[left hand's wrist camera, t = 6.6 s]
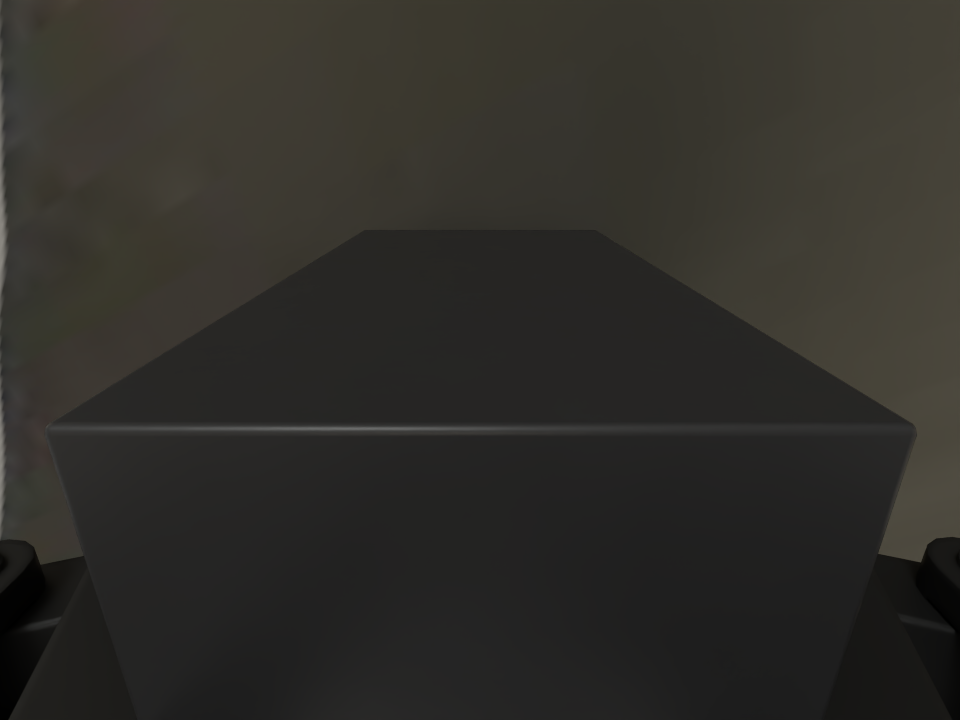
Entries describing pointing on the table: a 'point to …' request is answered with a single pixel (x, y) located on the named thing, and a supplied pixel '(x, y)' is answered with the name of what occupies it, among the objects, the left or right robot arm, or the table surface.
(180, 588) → the box
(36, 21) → the table surface
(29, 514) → the table surface
